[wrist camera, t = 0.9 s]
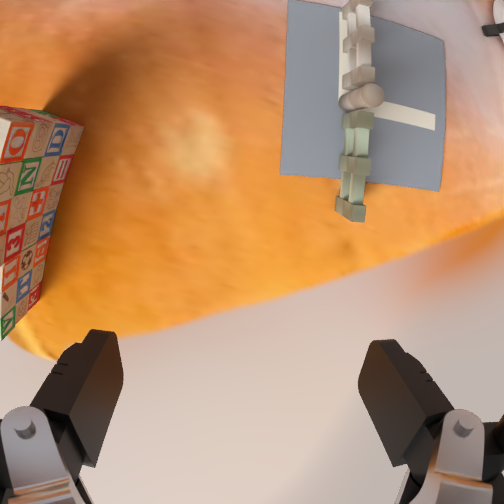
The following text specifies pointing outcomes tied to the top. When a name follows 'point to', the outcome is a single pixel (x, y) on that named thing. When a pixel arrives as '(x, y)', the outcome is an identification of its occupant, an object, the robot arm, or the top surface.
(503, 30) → the coffee press
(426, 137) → the card
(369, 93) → the fence base
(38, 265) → the stack of blocks
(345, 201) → the hinged panel
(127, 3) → the top surface
